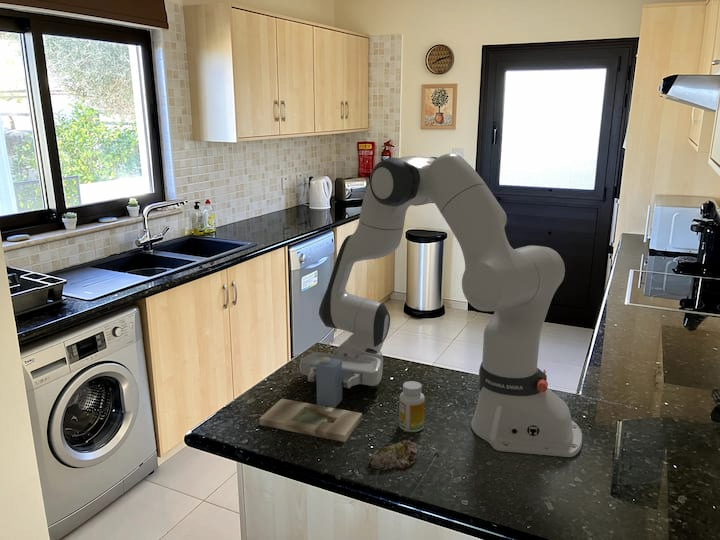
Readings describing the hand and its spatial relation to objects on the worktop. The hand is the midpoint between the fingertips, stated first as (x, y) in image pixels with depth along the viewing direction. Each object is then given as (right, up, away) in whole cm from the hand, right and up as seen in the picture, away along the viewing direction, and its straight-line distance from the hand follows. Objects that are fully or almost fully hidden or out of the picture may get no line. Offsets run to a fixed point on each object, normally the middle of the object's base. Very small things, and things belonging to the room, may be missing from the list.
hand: (328, 381), depth 134 cm
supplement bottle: (+18, -8, -9) cm, 22 cm away
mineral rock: (+14, -11, -21) cm, 27 cm away
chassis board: (-3, -7, -7) cm, 11 cm away
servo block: (0, -5, +2) cm, 6 cm away
